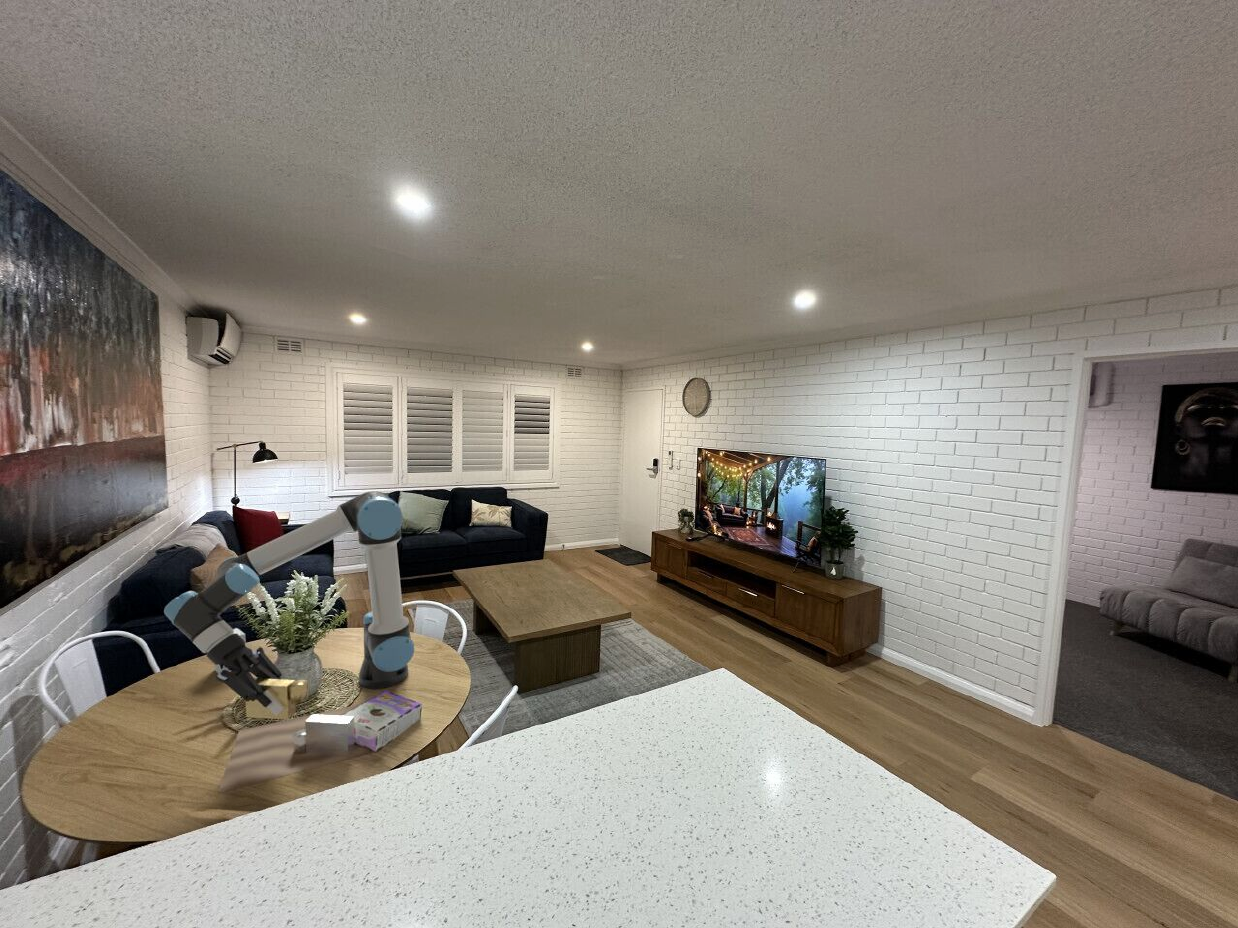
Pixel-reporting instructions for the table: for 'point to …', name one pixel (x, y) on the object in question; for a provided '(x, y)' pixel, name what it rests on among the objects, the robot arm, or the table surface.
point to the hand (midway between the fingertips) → (285, 707)
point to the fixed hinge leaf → (325, 736)
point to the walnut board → (276, 753)
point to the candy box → (383, 719)
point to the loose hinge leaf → (279, 697)
